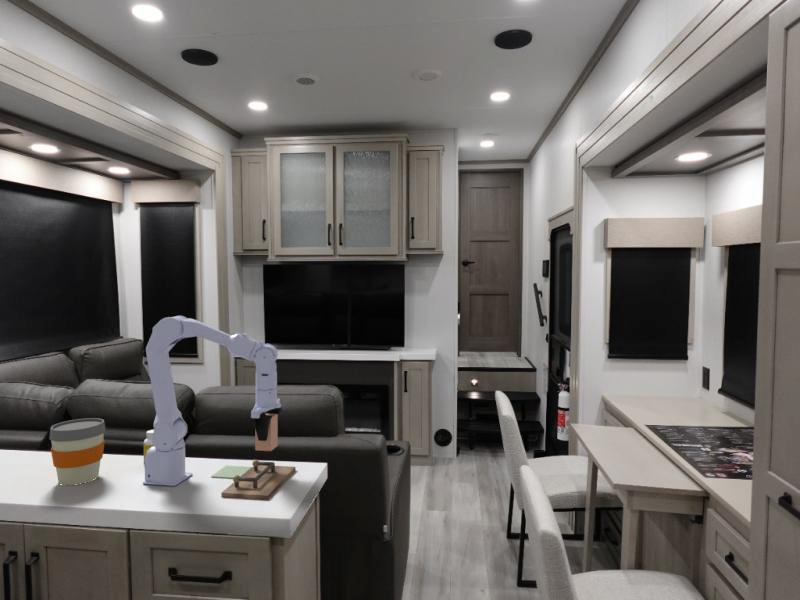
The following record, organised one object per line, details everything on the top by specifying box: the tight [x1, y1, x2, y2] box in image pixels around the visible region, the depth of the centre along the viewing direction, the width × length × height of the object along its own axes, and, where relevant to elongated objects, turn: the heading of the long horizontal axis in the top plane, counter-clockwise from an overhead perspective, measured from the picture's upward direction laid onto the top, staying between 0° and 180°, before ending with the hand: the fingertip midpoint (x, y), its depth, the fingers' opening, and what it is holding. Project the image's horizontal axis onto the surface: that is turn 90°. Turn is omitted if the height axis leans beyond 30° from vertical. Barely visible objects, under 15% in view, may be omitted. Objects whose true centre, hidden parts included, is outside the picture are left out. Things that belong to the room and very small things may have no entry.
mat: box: [210, 465, 253, 480], centre depth 133 cm, size 8×8×1 cm
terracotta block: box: [254, 413, 279, 452], centre depth 131 cm, size 4×4×9 cm
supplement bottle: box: [143, 429, 154, 467], centre depth 139 cm, size 5×5×10 cm
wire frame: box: [220, 459, 296, 501], centre depth 126 cm, size 12×19×4 cm, turn 172°
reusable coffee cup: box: [49, 417, 106, 486], centre depth 128 cm, size 13×13×15 cm
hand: (266, 437), depth 131 cm, fingers closed on terracotta block, 4 cm apart
